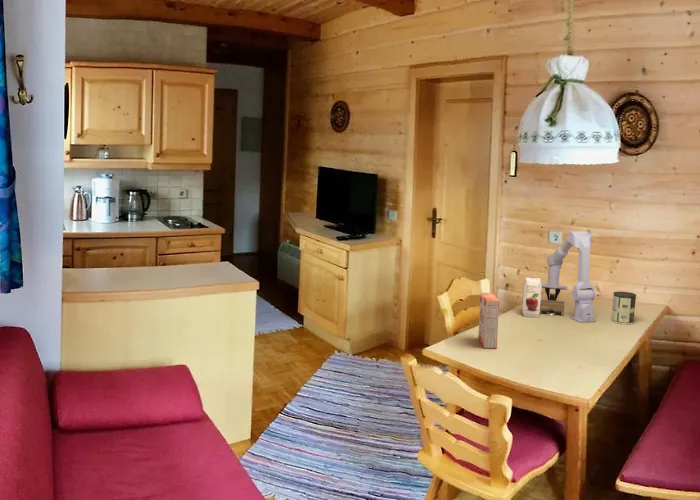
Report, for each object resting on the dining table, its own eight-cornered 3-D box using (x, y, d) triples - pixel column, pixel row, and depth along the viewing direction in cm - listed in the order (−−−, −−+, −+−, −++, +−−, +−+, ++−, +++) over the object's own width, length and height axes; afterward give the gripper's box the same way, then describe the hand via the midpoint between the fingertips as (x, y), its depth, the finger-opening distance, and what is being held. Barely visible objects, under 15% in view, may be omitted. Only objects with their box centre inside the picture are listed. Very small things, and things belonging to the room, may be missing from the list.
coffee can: (625, 318, 331) (628, 291, 328) (638, 324, 321) (640, 295, 318) (606, 319, 329) (609, 291, 327) (618, 324, 319) (621, 296, 317)
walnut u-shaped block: (539, 310, 342) (539, 299, 341) (563, 312, 339) (564, 301, 338) (538, 314, 335) (539, 302, 334) (563, 316, 331) (564, 305, 330)
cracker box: (477, 338, 290) (479, 292, 286) (491, 339, 290) (493, 292, 286) (482, 348, 276) (485, 299, 273) (497, 349, 276) (500, 300, 272)
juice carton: (521, 313, 336) (523, 276, 333) (538, 314, 335) (541, 277, 332) (521, 316, 329) (524, 279, 326) (539, 318, 327) (542, 280, 324)
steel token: (556, 316, 334) (556, 314, 334) (549, 316, 333) (549, 314, 333) (552, 314, 337) (552, 312, 337) (545, 314, 336) (545, 312, 336)
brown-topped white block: (548, 305, 354) (549, 293, 353) (554, 306, 353) (555, 293, 352) (548, 312, 340) (549, 299, 339) (554, 312, 339) (555, 299, 338)
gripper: (567, 277, 353) (565, 301, 355) (539, 274, 357) (537, 299, 359) (568, 279, 346) (566, 304, 348) (539, 277, 350) (537, 302, 352)
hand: (551, 302), depth 353 cm, fingers closed on brown-topped white block, 2 cm apart
